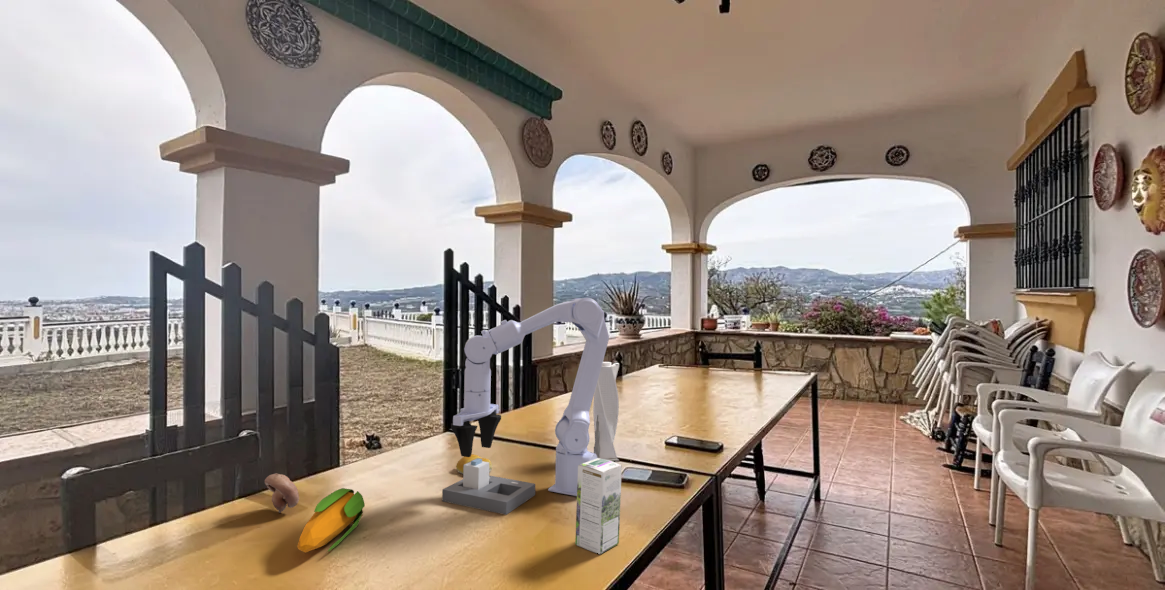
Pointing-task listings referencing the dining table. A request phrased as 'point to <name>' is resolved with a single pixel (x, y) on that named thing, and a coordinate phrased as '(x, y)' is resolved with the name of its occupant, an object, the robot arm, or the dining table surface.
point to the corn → (332, 519)
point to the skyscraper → (606, 412)
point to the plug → (476, 474)
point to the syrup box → (598, 505)
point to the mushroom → (282, 491)
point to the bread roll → (468, 459)
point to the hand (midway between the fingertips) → (476, 451)
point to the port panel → (491, 495)
